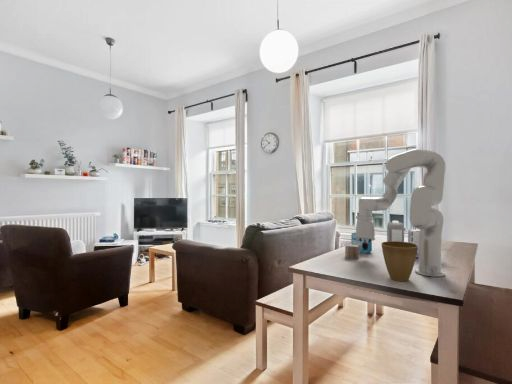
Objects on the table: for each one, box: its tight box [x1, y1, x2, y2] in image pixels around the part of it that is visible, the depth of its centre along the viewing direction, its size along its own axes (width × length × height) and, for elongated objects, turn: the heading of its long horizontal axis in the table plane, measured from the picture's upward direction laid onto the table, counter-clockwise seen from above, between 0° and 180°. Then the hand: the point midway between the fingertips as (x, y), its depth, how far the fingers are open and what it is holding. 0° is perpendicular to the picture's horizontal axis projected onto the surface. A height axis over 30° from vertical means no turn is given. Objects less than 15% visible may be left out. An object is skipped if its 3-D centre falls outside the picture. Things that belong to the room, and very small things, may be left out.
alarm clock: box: [386, 220, 405, 242], centre depth 192 cm, size 18×8×20 cm, turn 161°
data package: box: [350, 231, 373, 254], centre depth 193 cm, size 12×4×12 cm, turn 40°
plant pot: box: [381, 241, 418, 282], centre depth 135 cm, size 15×15×16 cm
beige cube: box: [344, 243, 360, 260], centre depth 178 cm, size 7×7×7 cm
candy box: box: [407, 229, 420, 260], centre depth 176 cm, size 14×6×16 cm, turn 84°
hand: (365, 249), depth 175 cm, fingers closed
